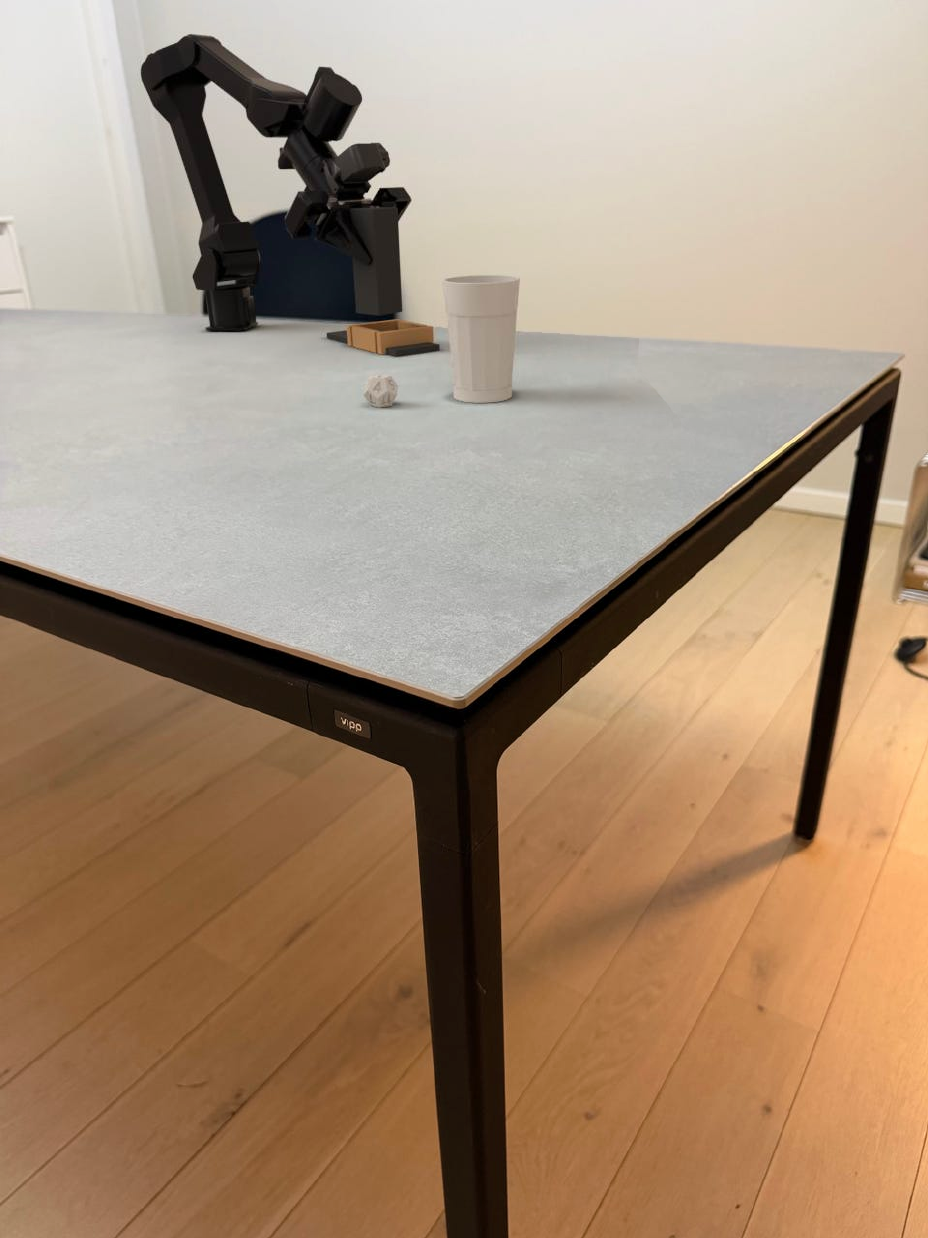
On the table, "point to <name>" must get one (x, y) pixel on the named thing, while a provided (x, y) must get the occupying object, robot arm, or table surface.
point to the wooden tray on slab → (388, 337)
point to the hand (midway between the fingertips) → (383, 261)
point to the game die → (381, 390)
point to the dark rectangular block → (378, 261)
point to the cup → (482, 335)
